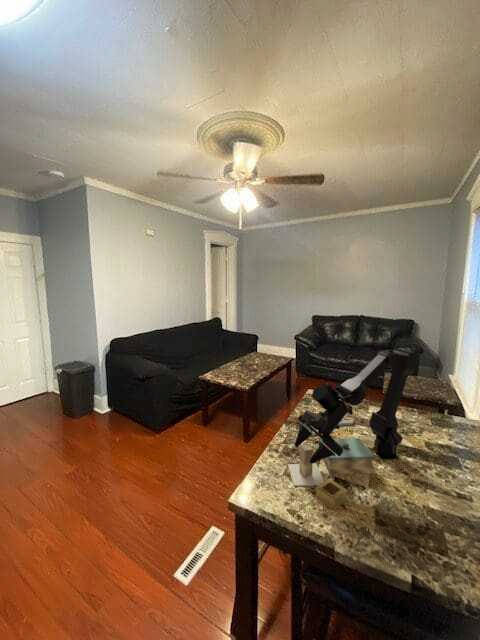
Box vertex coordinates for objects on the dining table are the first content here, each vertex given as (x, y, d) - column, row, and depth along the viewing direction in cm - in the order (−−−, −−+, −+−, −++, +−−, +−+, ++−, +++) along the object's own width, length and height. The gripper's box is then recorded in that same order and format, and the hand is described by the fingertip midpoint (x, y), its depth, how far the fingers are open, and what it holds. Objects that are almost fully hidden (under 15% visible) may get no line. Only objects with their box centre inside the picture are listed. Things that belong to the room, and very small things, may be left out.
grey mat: (316, 464, 97) (316, 463, 97) (325, 485, 87) (325, 484, 87) (287, 465, 97) (287, 464, 97) (293, 486, 87) (293, 485, 87)
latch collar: (328, 486, 86) (328, 478, 86) (346, 499, 82) (346, 489, 81) (315, 496, 83) (316, 487, 82) (334, 509, 78) (334, 500, 77)
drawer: (358, 453, 102) (359, 435, 101) (373, 473, 92) (374, 453, 91) (319, 454, 102) (320, 436, 101) (329, 474, 92) (329, 454, 91)
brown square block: (307, 469, 94) (307, 443, 92) (312, 475, 91) (312, 448, 90) (299, 471, 93) (299, 445, 91) (304, 477, 90) (304, 450, 89)
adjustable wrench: (310, 438, 114) (310, 434, 114) (300, 430, 120) (301, 427, 120) (355, 424, 124) (356, 420, 124) (345, 418, 130) (345, 414, 130)
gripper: (302, 392, 98) (274, 426, 97) (336, 415, 81) (302, 458, 79) (321, 409, 102) (293, 443, 100) (357, 436, 84) (325, 477, 83)
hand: (302, 454), depth 90 cm, fingers open, 9 cm apart
